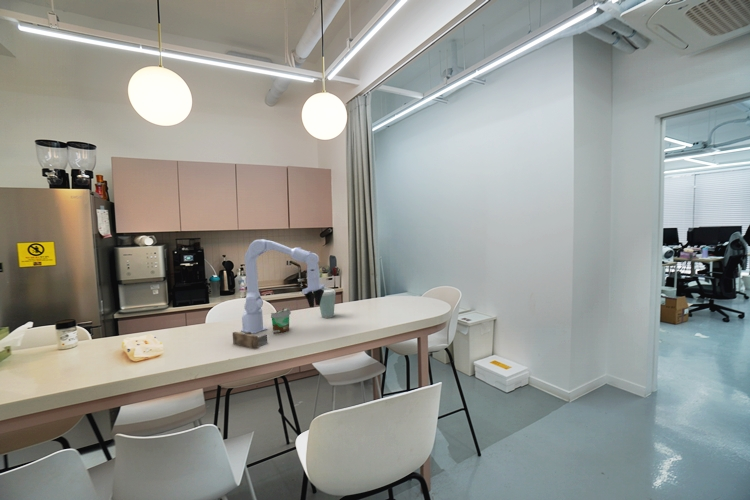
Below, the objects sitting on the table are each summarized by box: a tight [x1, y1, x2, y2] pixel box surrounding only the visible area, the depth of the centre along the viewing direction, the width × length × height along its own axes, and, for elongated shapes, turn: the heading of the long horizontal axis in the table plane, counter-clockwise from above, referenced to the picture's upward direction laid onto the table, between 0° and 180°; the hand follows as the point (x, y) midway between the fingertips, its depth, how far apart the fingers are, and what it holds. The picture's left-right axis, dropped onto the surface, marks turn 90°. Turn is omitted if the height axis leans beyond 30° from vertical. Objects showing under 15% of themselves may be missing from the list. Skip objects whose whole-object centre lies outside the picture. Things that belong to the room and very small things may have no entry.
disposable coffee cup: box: [318, 287, 337, 319], centre depth 181 cm, size 11×11×15 cm
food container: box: [270, 307, 292, 335], centre depth 157 cm, size 12×6×10 cm, turn 168°
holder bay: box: [232, 331, 268, 350], centre depth 141 cm, size 14×7×5 cm, turn 60°
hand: (314, 305), depth 161 cm, fingers open, 4 cm apart
